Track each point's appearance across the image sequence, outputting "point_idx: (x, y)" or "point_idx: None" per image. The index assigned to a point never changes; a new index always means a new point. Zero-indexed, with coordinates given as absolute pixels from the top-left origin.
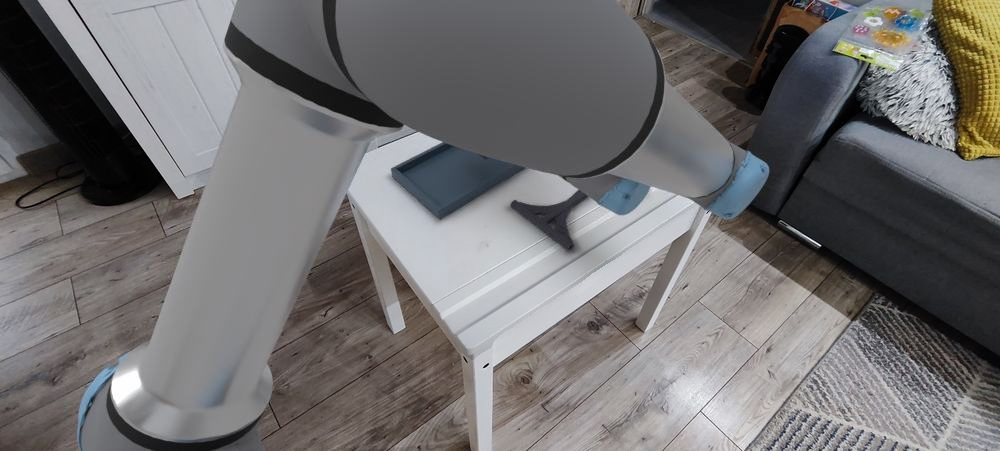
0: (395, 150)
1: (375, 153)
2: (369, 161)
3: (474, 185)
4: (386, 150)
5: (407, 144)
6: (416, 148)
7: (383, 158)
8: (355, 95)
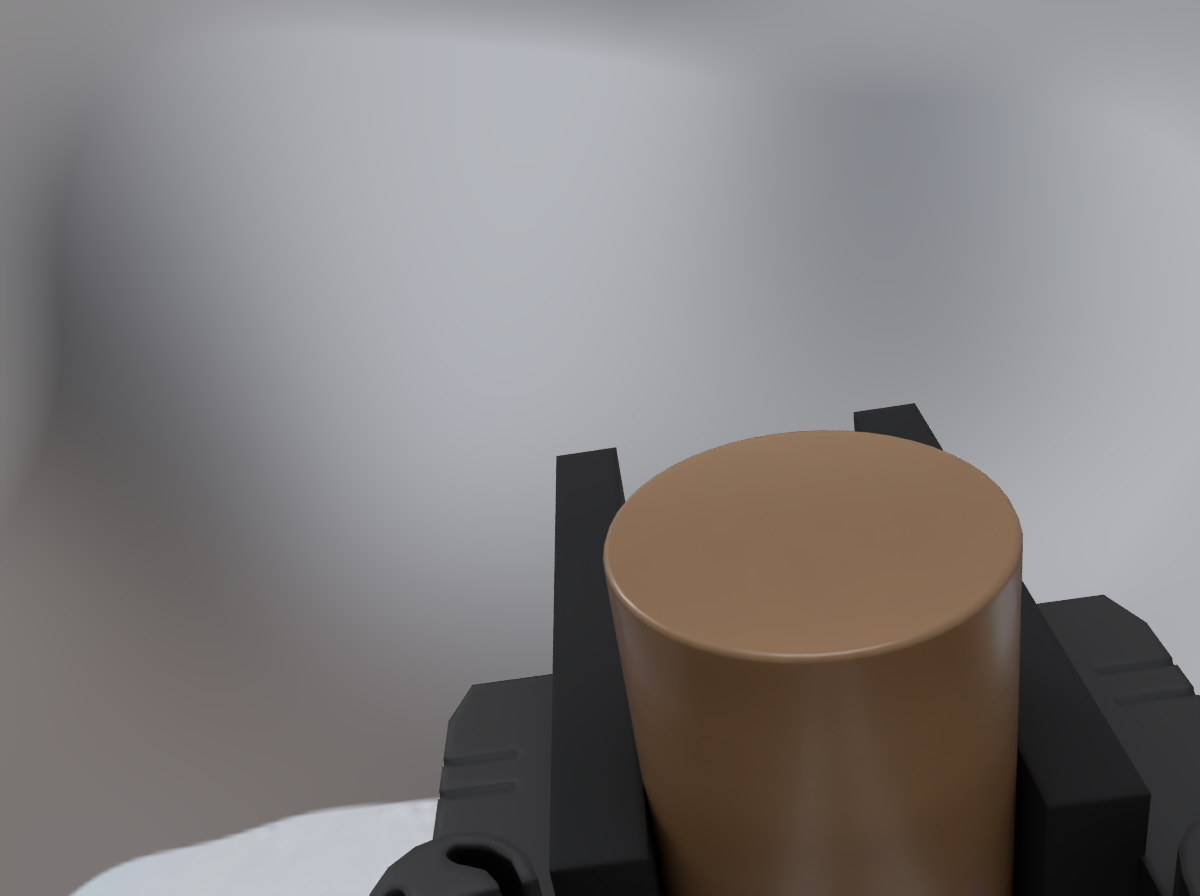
0: None
1: (341, 809)
2: (259, 854)
3: None
4: (410, 816)
5: None
6: None
7: (339, 870)
8: None
